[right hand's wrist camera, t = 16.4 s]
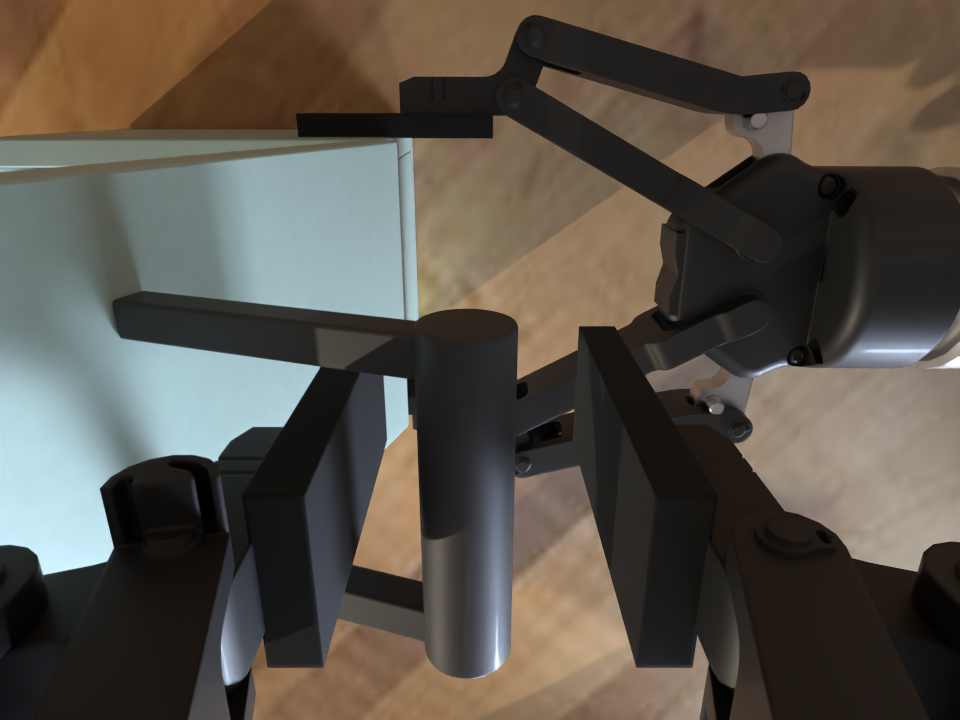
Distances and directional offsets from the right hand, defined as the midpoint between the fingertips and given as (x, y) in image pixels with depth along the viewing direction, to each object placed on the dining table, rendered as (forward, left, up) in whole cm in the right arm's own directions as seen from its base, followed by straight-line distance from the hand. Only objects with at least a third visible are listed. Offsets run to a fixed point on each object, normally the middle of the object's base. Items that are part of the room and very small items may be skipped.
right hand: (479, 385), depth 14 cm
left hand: (+3, +5, -11) cm, 13 cm away
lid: (+3, +5, -1) cm, 6 cm away
